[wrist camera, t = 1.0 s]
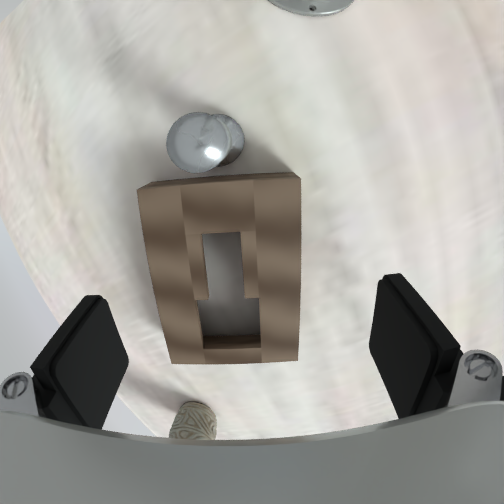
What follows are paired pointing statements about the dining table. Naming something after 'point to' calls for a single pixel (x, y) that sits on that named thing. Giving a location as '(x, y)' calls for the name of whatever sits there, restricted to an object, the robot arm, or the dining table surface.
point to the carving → (194, 423)
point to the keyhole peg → (204, 141)
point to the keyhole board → (253, 259)
